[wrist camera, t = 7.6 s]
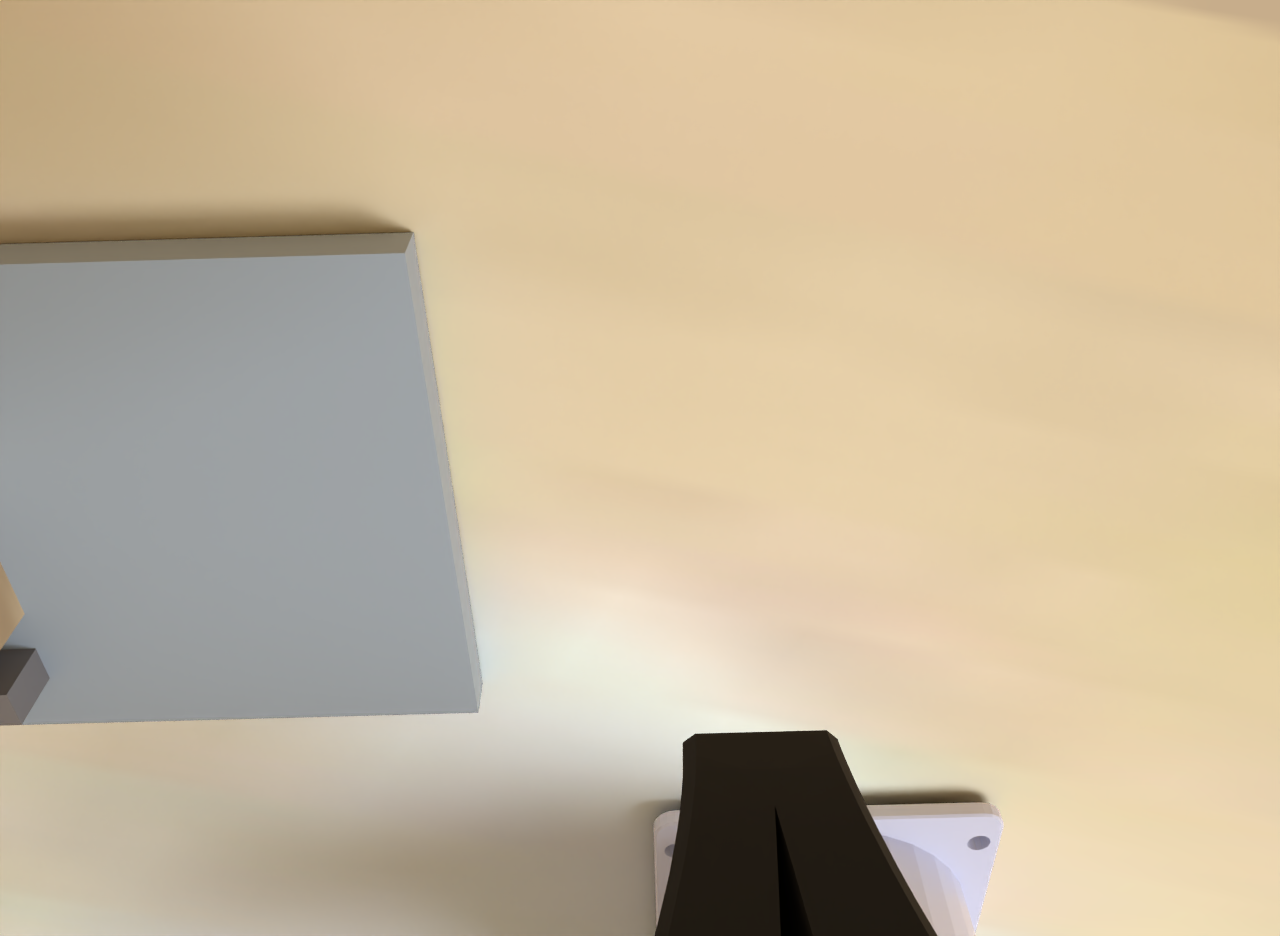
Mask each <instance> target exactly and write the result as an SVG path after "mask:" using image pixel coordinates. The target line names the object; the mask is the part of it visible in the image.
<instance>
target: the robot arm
mask: <svg viewBox="0 0 1280 936" xmlns="http://www.w3.org/2000/svg"><path fill="white" fill-rule="evenodd" d="M1002 831H1003V820H1002V817H1001V814H1000V811H999V810H998V808H997V807H996V806H994V805H992V804H990V803H983V802H970V803H932V804H894V805H866V804H865V802H864V799H863V797H862V795H861V793H860V791H859V789H858V787H857V785H856V782H855V780H854V778H853V776H852V773H851V771H850V769H849V766H848V764H847V762H846V760H845V757H844V755H843V752H842V750H841V747H840V745H839V742H838V739H837V738H835V737H834V736H833V735H832V734H830V733H829V732H828V731H827V730H822V731H784V732H746V733H709V734H694V735H693V736H691V737H690V738H689V739H687V740H686V741H684V742H683V783H682V796H681V805H680V810H674V811H667V812H665V813H663V814H661V815H659V816H658V817H657V818H656V819H655V822H654V859H655V895H656V932H655V936H976V935H975V932H976V929H977V925H978V921H979V917H980V914H981V910H982V906H983V902H984V899H985V895H986V891H987V887H988V883H989V880H990V876H991V872H992V868H993V865H994V861H995V857H996V853H997V849H998V846H999V842H1000V838H1001V834H1002Z"/></svg>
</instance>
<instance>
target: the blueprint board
mask: <svg viewBox="0 0 1280 936" xmlns="http://www.w3.org/2000/svg"><path fill="white" fill-rule="evenodd" d="M0 562H1V565H2V567H3V569H4V571H5V573H6V575H7V577H8V579H9V582H10V584H11V586H12V588H13V590H14V592H15V594H16V596H17V599H18V601H19V603H20V605H21V607H22V609H23V611H24V613H25V614H24V616H23V617H22V619H21V620H20V622H19V623H18V625H17V626H16V628H15V629H14V631H13V632H12V634H11V635H10V637H9V638H8V640H7V641H6V643H5V644H4V646H3V647H2V649H1V650H0V725H32V724H69V723H107V722H144V721H181V720H219V719H256V718H293V717H331V716H368V715H406V714H443V713H478V711H479V704H480V697H481V690H482V677H481V671H480V664H479V658H478V651H477V645H476V638H475V631H474V625H473V618H472V612H471V605H470V599H469V592H468V586H467V579H466V573H465V566H464V560H463V553H462V547H461V540H460V534H459V527H458V520H457V514H456V507H455V501H454V494H453V488H452V481H451V475H450V468H449V462H448V455H447V449H446V442H445V436H444V429H443V423H442V416H441V409H440V403H439V396H438V390H437V383H436V377H435V370H434V364H433V357H432V351H431V344H430V338H429V331H428V325H427V318H426V312H425V305H424V298H423V292H422V285H421V279H420V272H419V266H418V259H417V253H416V246H415V240H414V233H413V232H408V233H373V234H338V235H303V236H268V237H233V238H198V239H163V240H128V241H93V242H58V243H23V244H0Z"/></svg>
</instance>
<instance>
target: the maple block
mask: <svg viewBox="0 0 1280 936" xmlns="http://www.w3.org/2000/svg"><path fill="white" fill-rule="evenodd" d="M24 614H25V613H24V611H23V609H22V607H21V605H20V603H19V601H18V599H17V596H16V594H15V592H14V590H13V588H12V586H11V584H10V582H9V579H8V577H7V575H6V573H5V571H4V569H3V567H2V565H1V562H0V650H1V649H2V647H3V646H4V644H5V643H6V641H7V640H8V638H9V637H10V635H11V634H12V632H13V631H14V629H15V628H16V626H17V625H18V623H19V622H20V620H21V619H22V617H23V616H24Z"/></svg>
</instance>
